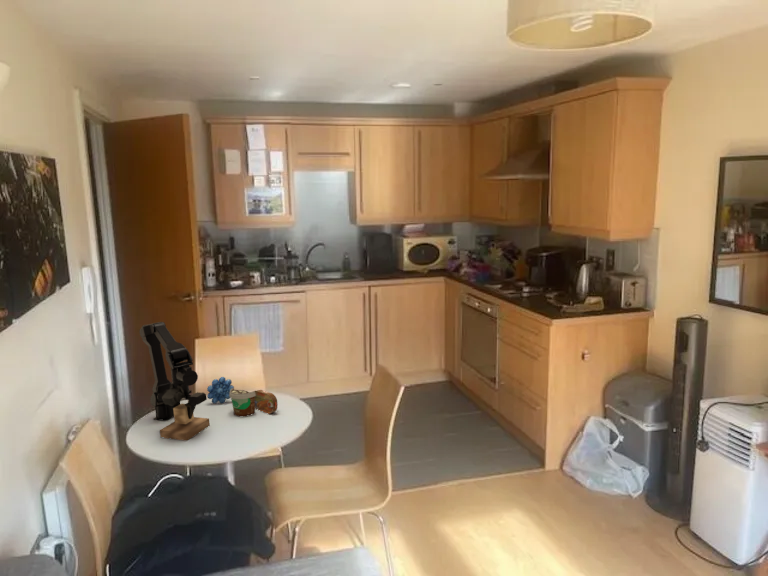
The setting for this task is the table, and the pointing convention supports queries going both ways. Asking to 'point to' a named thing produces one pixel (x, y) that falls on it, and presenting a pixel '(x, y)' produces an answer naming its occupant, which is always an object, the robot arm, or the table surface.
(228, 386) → the grapes
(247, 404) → the food container
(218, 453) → the table surface
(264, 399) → the tin
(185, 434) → the walnut board
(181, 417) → the oak block
